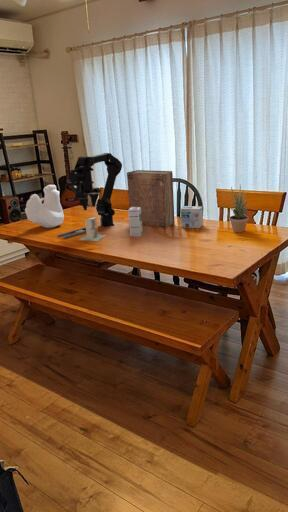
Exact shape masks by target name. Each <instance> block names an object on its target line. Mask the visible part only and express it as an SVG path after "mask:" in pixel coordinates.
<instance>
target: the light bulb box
mask: <svg viewBox="0 0 288 512" xmlns="http://www.w3.org/2000/svg"><path fill="white" fill-rule="evenodd" d="M203 223H204V222H203V206H197V205H195V206H191V205H184V206H182V207H181V208H180V225H181V228H185V229H186V228H187V229H188V228H189V229H200V228H202V227H203Z"/></svg>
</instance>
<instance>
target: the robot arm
mask: <svg viewBox="0 0 288 512" xmlns="http://www.w3.org/2000/svg"><path fill="white" fill-rule="evenodd" d="M102 162H103V163H104V165H105V166H106V171H107V177H106V181H105V184H104V189H103V193H102V197H101V198H100V199H99V196H100V195H101V194H100V193H101V188H100V187H93V184H94V181H93V179H92V171H94V168H93V166H94V165H95V164H97V163H98V164H99V163H102ZM73 168H74V169H70V173H68V180H69V182H70V183H71V184H76V183H79V185H73V186H71V192H72V193H74V199H75V200H76V201H79V202H80V203H81V205H82V206H81V207H82V208H83V210H84V211H87V210H88V209H87V208H88V205H89V204H88V202H89V197H90V202H91V207H95V210H96V212H97V215H98V216H100V218H99V220H100V226H102V227H103V228H104V227H105V228H106V227H112V226H115V224H114V219H113V217H114V215H115V214H116V211H115V210H114V209H113V208H112V207H113V206H112V205H113V204H112V201H111V198H112V194H113V190H114V186H115V183H116V180H117V179H116V178H117V177H118V176H119V174H120V173H121V171H122V169H123V163H122V161H120V160H119V158H117V157H115V156H114V155H113V154H112V153H110V152H103V153H100V154H95V155H92V156H88V155H87V156H85V155H84V156H81V155H80V156H78V157H77V160H76V164H75V166H74V167H73ZM88 196H89V197H88Z"/></svg>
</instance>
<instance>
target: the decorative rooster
mask: <svg viewBox="0 0 288 512" xmlns="http://www.w3.org/2000/svg"><path fill="white" fill-rule="evenodd" d="M42 191H43V193H44V197H42V198H40V196H39V195H38V194H36V193H34V194H33V193H32V194H31V195H30V196H29V198H28V200H27V202H26V204H25V209H24V212H25V215H26V218H27V220H28V221H30V222H32V223H33V224H35V223H38V224H39V225H40V226H41V227H43V228H46V229H52V228H56V227H57V226H61V224H63V223H64V219H65V215H64V211H63V210H64V209H63V207H62V204H61V202H60V201H61V197H60V190H57V185H55V184H48V185H46V186H44V188H43V190H42ZM42 201H43V202H42Z"/></svg>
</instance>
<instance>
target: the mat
mask: <svg viewBox="0 0 288 512" xmlns="http://www.w3.org/2000/svg"><path fill="white" fill-rule="evenodd" d="M104 237H107V234H98V236H97V237H95V238H93V239H87V234H86V235H84V236H83V237H80V238H79V239H78V241H89V242H99V241H101V240H102V239H103V238H104Z"/></svg>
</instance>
